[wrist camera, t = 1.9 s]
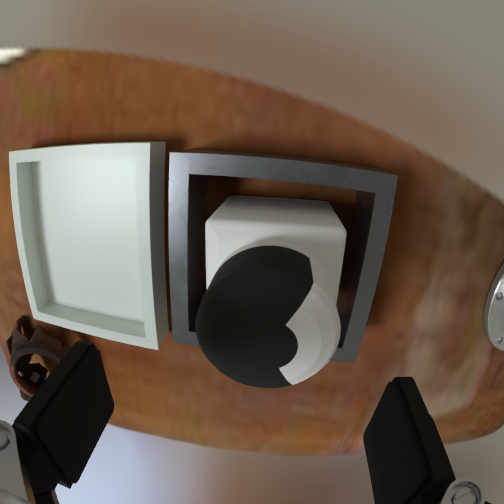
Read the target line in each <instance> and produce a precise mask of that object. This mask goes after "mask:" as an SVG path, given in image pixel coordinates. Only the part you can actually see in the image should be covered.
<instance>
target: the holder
mask: <svg viewBox="0 0 504 504" xmlns="http://www.w3.org/2000/svg"><path fill="white" fill-rule="evenodd" d="M207 175H217V176H231V177H244V178H256V179H267V180H278V181H288V182H297V183H306V184H315V185H323V186H331V187H338V188H346V189H353V190H357V197H356V204H355V211H354V217H353V223H352V229H351V235H350V241H349V247H348V252H347V258H346V263H345V268H344V273H343V278H342V283H341V288H340V293H339V298H338V302H337V311H338V315H339V318H340V326H341V331H340V339H339V343H338V346H337V348H336V351H335V353H334V354H333V356H332V358H331V359H330V360H329V361H341V362H355V359H356V356H357V353H358V350H359V347H360V344H361V340H362V337H363V334H364V330H365V327H366V323H367V320H368V316H369V313H370V309H371V305H372V302H373V298H374V294H375V290H376V286H377V282H378V278H379V274H380V269H381V265H382V261H383V256H384V251H385V247H386V242H387V237H388V232H389V227H390V221H391V216H392V210H393V205H394V199H395V192H396V186H397V179H398V175H396V174H393V173H390V172H388V171H385V170H382V169H380V168H377V167H371V166H365V165H358V164H352V163H345V162H338V161H331V160H323V159H315V158H307V157H298V156H288V155H278V154H267V153H255V152H242V151H226V150H206V149H188V150H182V151H175V152H170V160H169V273H170V297H171V316H172V331H173V342H175V343H180V344H186V345H192V346H199V347H200V345H199V343H198V340H197V336H196V329H195V320H196V314H197V310H198V308H199V305H200V303H201V301H202V299H203V297H204V243H205V210H206V185H207Z"/></svg>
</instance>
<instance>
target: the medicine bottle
mask: <svg viewBox="0 0 504 504" xmlns="http://www.w3.org/2000/svg"><path fill="white" fill-rule="evenodd" d="M346 235H347V233H346V229H345V228H344V226H343V224H342V223H341V221H340V220H339V218H338V216H337V215H336V213H335V212H334V210H333V208H332V207H331V205H330V204H329V203H328V202H327V201H320V200H307V199H293V198H277V197H260V196H241V195H231V196H229V197H228V198H227V199H226V200H225V201H224V202H223V203H222V205H221V206H220V207H219V208H218V209H217V210H216V211H215V212H214V213H213V214H212V215H211V216H210V218H209V219H208V220H207V221H206V224H205V240H206V287H207V291H206V293H205V295H204V297H203V299H202V301H201V303H200V305H199V308H198V310H197V314H196V320H195V329H196V336H197V340H198V343H199V345H200V347H201V350H202V351H203V353H204V354H205V356H206V357H207V359H208V360H209V361H210V362H211V363H212V364H213V365H214V366H215V367H216V368H217V369H218V370H219V371H221V372H222V373H223V374H225V375H226V376H228V377H230V378H231V379H233V380H235V381H238V382H240V383H243V384H246V385H249V386H254V387H261V388H279V387H285V386H290V385H293V384H296V383H299V382H301V381H303V380H305V379H307V378H309V377H311V376H312V375H314V374H315V373H317V372H318V371H319V370H321V369H322V368H323V367H324V366H325V365H326V364H327V363H328V362H329V360H330V359H331V358H332V356H333V354H334V353H335V351H336V348H337V346H338V343H339V339H340V331H341V326H340V318H339V315H338V311H337V307H336V302H337V296H338V290H339V283H340V277H341V271H342V264H343V257H344V250H345V242H346Z"/></svg>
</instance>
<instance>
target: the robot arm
mask: <svg viewBox="0 0 504 504" xmlns="http://www.w3.org/2000/svg"><path fill="white" fill-rule="evenodd" d="M484 328H485V331H486V335H487V336H488V338H489V340H490V341H491V343H492V344H493V345H494V346H495V347H496V348H498V349H499V350H502V351H504V263H503V265H502V266H501V268H500V269H499V271H498V273H497V275H496V277H495V279H494V281H493V283H492V286H491V288H490V291H489V293H488V297H487V301H486V305H485V311H484ZM113 410H114V402H113V398H112V395H111V392H110V388H109V385H108V381H107V378H106V374H105V370H104V367H103V363H102V359H101V355H100V352H99V350H97V349H96V347H95V345H94V344H90V343H86V342H82V341H77V342H76V343H75V344H74V345H73V347H72V348H71V349H70V350H69V351H68V353H67V354H66V355H65V356H64V357H63V359H62V360H61V361H60V362H59V364H58V365H57V366H56V367H55V368H54V370H53V371H52V372H51V373H50V375H49V376H48V377H47V378H46V380H45V381H44V382H43V384H42V385H41V386H40V387H39V389H38V390H37V391H36V393H35V394H34V395H33V396H32V398H31V399H30V400H29V402H28V403H27V404H26V406H25V407H24V408H23V410H22V411H21V413H20V414H19V415H18V417H17V418H16V419H15V421H14V424H13V425H12V426H11V425H10V424H9V423H7V422H5V421H2V420H0V504H59V502H58V499H57V495H56V493H55V488H56V486H57V484H61V485H63V486H65V487H67V488H69V489H70V488H71V486H72V484H73V483H76V482H78V480H79V478H80V476H81V474H82V472H83V470H84V468H85V466H86V464H87V462H88V460H89V458H90V456H91V454H92V452H93V450H94V448H95V446H96V444H97V442H98V440H99V438H100V436H101V434H102V432H103V430H104V428H105V427H106V425H107V423H108V421H109V419H110V417H111V415H112V413H113ZM363 441H364V446H365V451H366V456H367V462H368V467H369V472H370V477H371V483H372V489H373V495H374V501H375V504H491V503H489V502H486V501H485V498H486V497H485V491H484V489H483V487H482V485H481V484H480V483H479V482H478V481H476V480H474V479H472V478H468V477H464V478H459V479H456V478H455V476H454V473H453V470H452V467H451V464H450V462H449V459H448V456H447V454H446V451H445V448H444V446H443V443H442V441H441V438H440V436H439V433H438V431H437V428H436V426H435V423H434V421H433V419H432V417H431V415H429V413H428V411H427V408H426V406H425V404H424V401H423V399H422V397H421V394H420V392H419V390H418V388H417V385H416V383H415V381H414V379H413V378H412V377H395V378H394V379H393V381H392V382H389V383H388V384H387V386H386V388H385V391H384V393H383V395H382V397H381V399H380V401H379V404H378V406H377V408H376V410H375V412H374V414H373V416H372V418H371V420H370V422H369V424H368V426H367V428H366V430H365V432H364V437H363Z"/></svg>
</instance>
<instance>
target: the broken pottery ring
mask: <svg viewBox="0 0 504 504" xmlns="http://www.w3.org/2000/svg"><path fill="white" fill-rule="evenodd" d="M23 320H24V316H21V317H20V318H19V319H18V320H17V321H16V322H15V324H14V327H13V330H12V334H11V337H10V338H9V339H8V340H7V341H6V343H5V356H6V360H7V363H8V366H9V369H10V374H11V377H12V378H13V381H14V383H15V384H16V386H17V387H18V388H19V389H20V393H21V397H22V398H23V399H24V400H26V401H29V400H30V399H31V398H32V396H33V395H34V394H35V393H36V391H37V390H38V389H39V387H40V386H41V385H42V384H43V382H44V381H45V379H46V377H47V375H46V374H47V372H48V370H47V369H46V368H45V367H43V366H42V365H41V364H40V363H37V364H35V363H32V364H29V362H30V360H31V357H32V355H33V354H40V355H43V356H46V357H48V358H50V359H52V360H53V361H54V362H56V363H57V364H59V362H60V361H61V360H62V359H63V357H64V356H65V355H66V354H67V353H68V351H69V350H70V348H69V347H68V346H67V345H66V344H61V341H60V340H58V339H57V338H54V337H52V336H50V335H48V334H46V333H45V332H44V331H43V330H42V328H41V327H40V326H39V325H38V326H37V328H36V330H35V332H34V334H33V336H32V338H31V339H30V340H29V341H28V339H27V338H26V336H25V335H24V334H22V332H21V326H22V322H23ZM19 371H20V373H21V374H22V377H21V376H20V375H19V374H18V372H19Z"/></svg>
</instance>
